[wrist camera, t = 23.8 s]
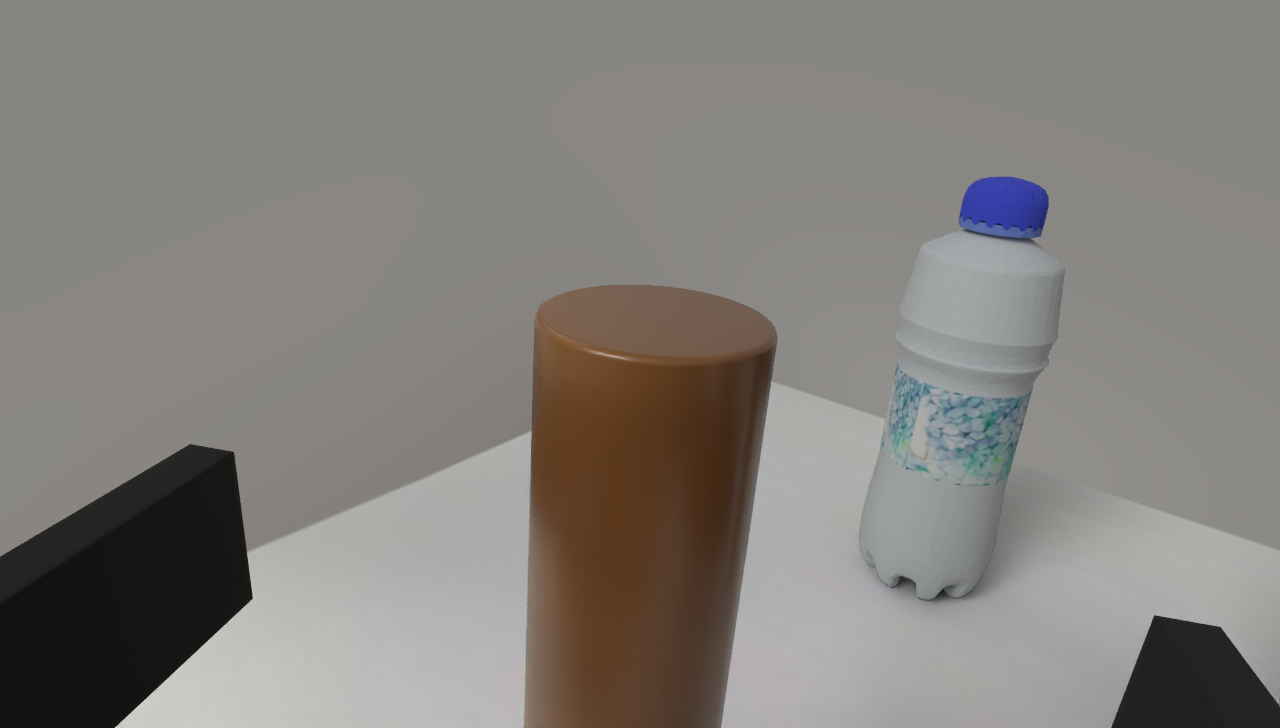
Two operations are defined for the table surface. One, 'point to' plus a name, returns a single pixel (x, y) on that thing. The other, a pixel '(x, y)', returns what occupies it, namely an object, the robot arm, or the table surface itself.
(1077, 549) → the table surface
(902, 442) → the bottle
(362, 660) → the table surface
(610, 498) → the wooden handled pestle
